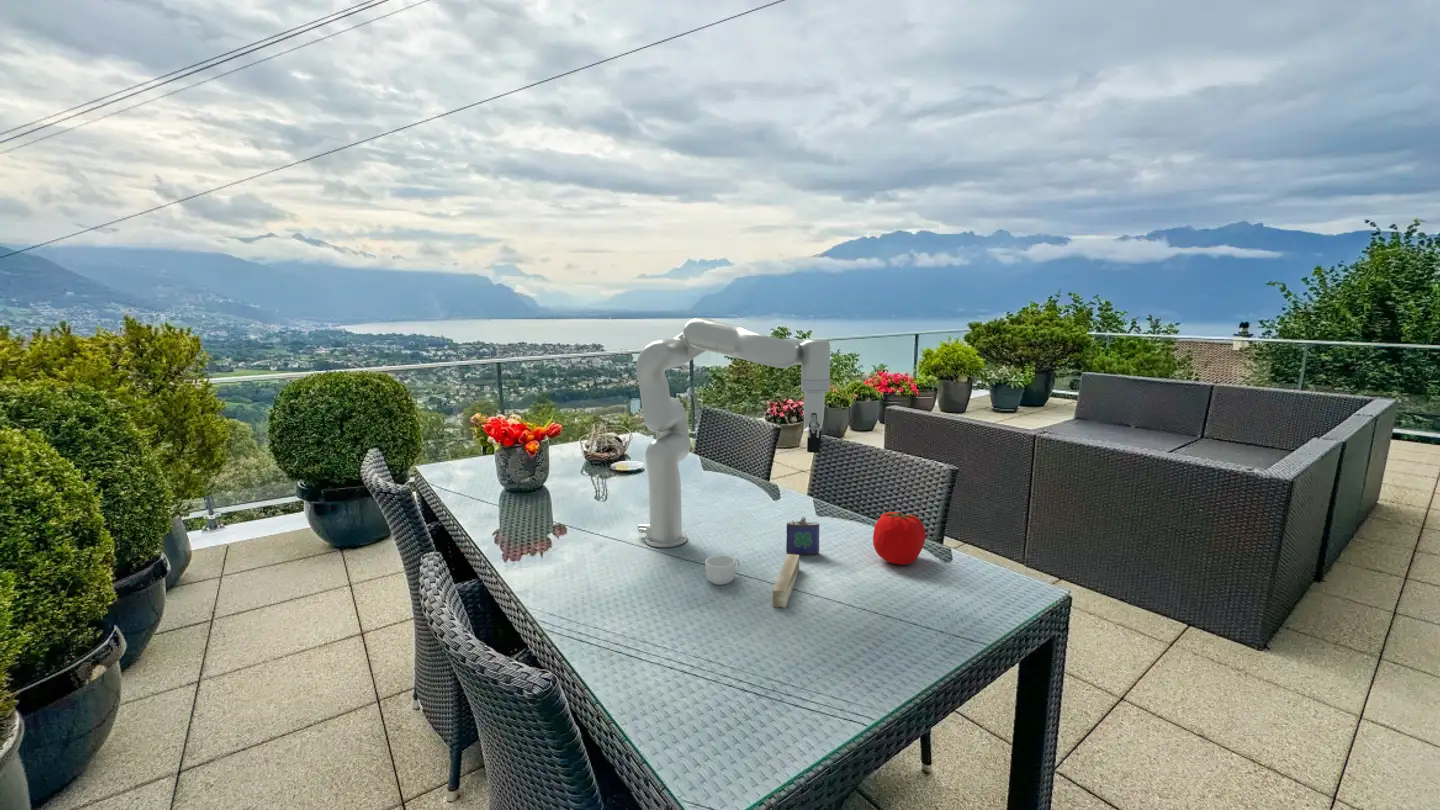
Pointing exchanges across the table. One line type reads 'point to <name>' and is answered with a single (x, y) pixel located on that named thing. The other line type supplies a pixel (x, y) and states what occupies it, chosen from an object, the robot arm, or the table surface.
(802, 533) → the clover hip flask
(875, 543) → the tomato
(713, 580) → the teacup
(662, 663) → the table surface
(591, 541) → the table surface
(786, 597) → the wooden bar
